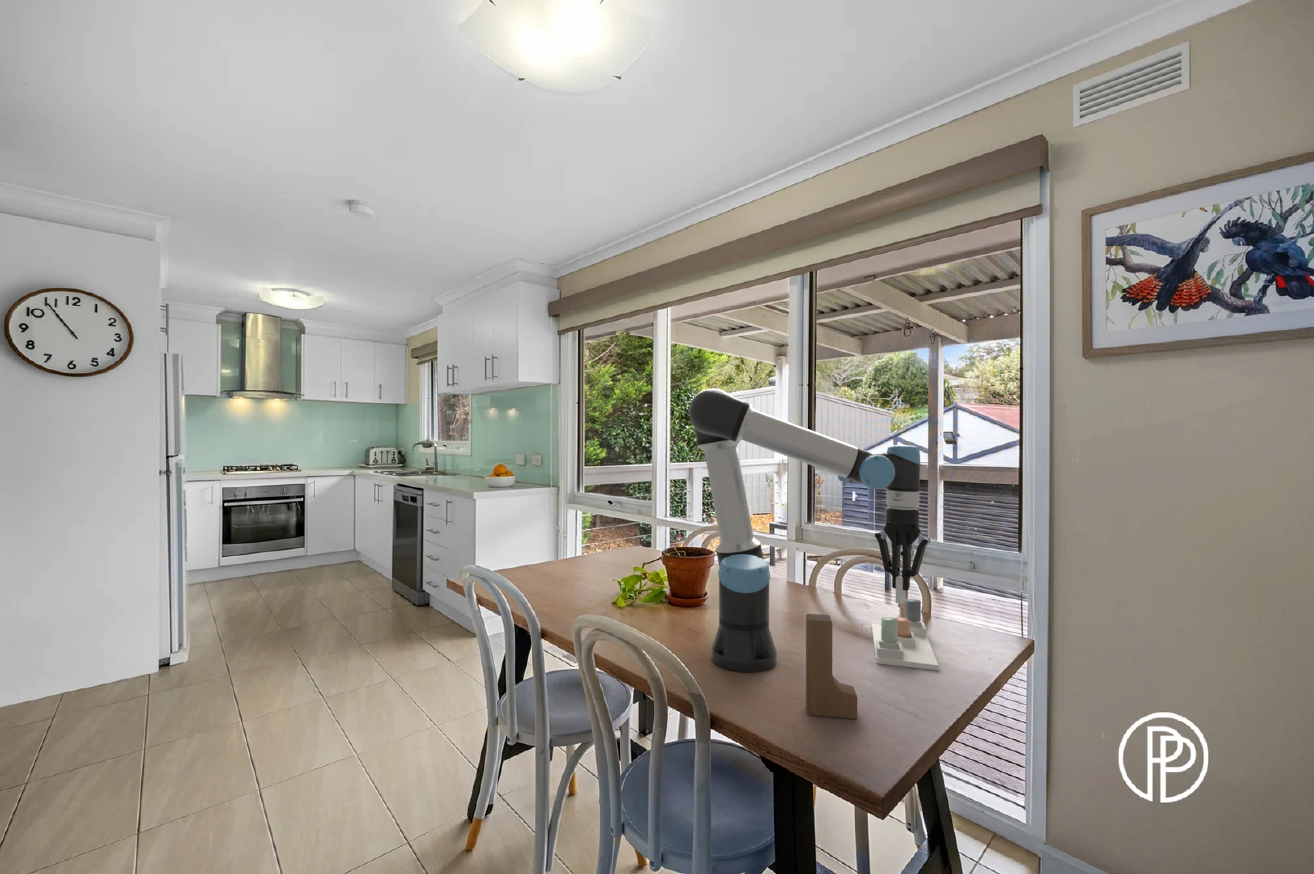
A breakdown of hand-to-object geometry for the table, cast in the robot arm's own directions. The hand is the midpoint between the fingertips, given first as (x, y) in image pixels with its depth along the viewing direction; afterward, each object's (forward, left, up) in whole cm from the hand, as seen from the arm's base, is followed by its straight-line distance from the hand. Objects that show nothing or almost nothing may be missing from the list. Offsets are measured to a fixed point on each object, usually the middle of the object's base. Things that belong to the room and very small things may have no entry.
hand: (900, 602), depth 142 cm
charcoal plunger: (+4, +9, -7) cm, 12 cm away
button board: (0, 0, -11) cm, 11 cm away
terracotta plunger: (0, 0, -9) cm, 9 cm away
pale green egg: (-3, -9, -7) cm, 12 cm away
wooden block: (-16, -40, -11) cm, 44 cm away
